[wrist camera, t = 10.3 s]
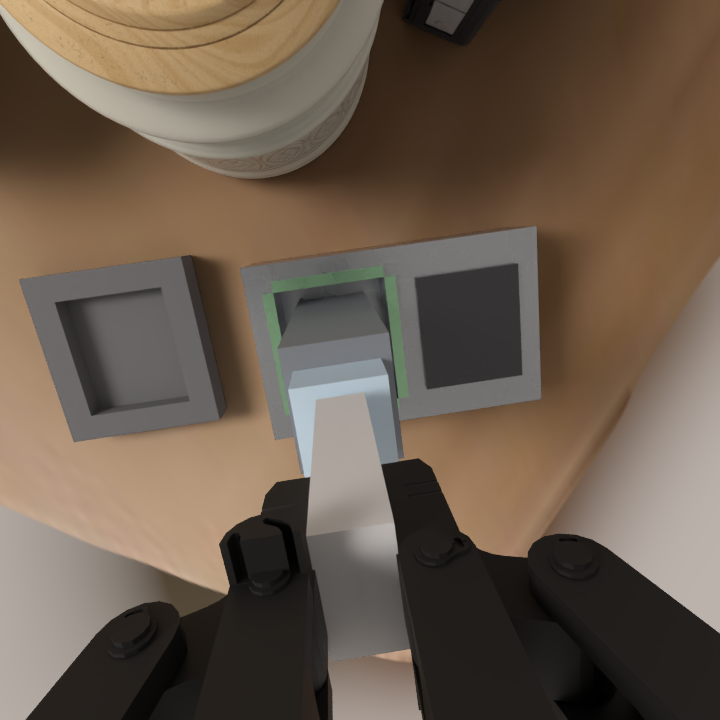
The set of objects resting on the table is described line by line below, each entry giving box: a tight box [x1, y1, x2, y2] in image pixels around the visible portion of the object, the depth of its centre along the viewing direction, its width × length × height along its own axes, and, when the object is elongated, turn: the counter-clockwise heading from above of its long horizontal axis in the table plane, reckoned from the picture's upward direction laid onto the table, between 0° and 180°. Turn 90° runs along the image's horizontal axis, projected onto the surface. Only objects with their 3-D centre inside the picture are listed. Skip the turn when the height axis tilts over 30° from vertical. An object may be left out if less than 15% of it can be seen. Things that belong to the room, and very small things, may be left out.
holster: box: [19, 255, 226, 442], centre depth 28 cm, size 10×9×2 cm
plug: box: [277, 292, 404, 478], centre depth 22 cm, size 5×4×14 cm
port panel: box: [240, 226, 541, 440], centre depth 27 cm, size 10×16×4 cm, turn 98°
